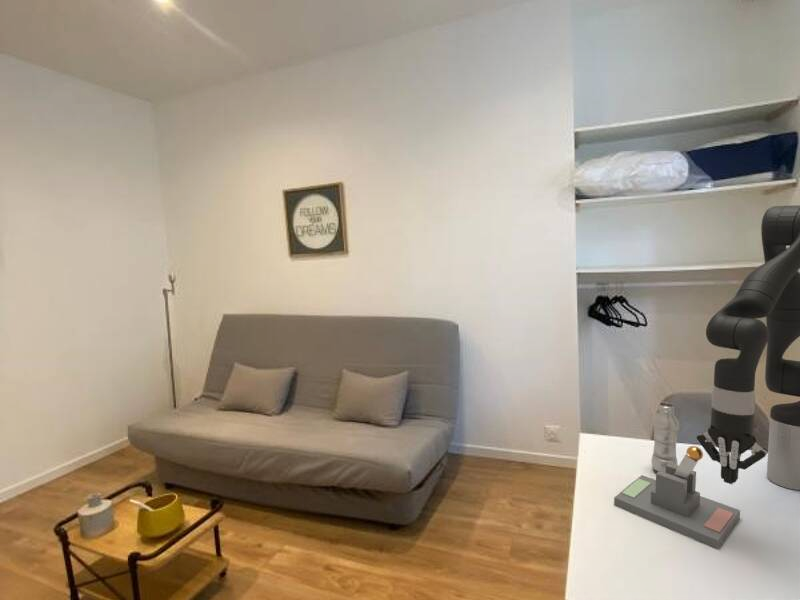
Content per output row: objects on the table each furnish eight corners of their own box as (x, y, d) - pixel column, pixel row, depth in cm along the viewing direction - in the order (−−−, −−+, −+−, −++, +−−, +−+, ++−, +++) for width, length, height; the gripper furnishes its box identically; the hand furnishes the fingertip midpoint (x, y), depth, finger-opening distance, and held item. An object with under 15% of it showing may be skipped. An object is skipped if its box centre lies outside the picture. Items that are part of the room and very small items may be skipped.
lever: (669, 480, 108) (693, 441, 103) (682, 490, 106) (707, 450, 101) (664, 485, 106) (688, 445, 101) (677, 495, 104) (702, 454, 99)
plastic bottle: (669, 466, 128) (672, 400, 126) (682, 478, 121) (685, 409, 119) (646, 465, 129) (648, 400, 126) (658, 477, 122) (660, 409, 119)
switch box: (641, 481, 120) (642, 447, 119) (739, 518, 103) (741, 478, 102) (614, 504, 110) (614, 467, 109) (717, 549, 93) (719, 505, 92)
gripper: (776, 410, 92) (771, 487, 94) (703, 395, 103) (700, 465, 105) (767, 420, 88) (762, 501, 90) (691, 404, 98) (688, 476, 100)
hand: (728, 481), depth 97 cm, fingers closed
